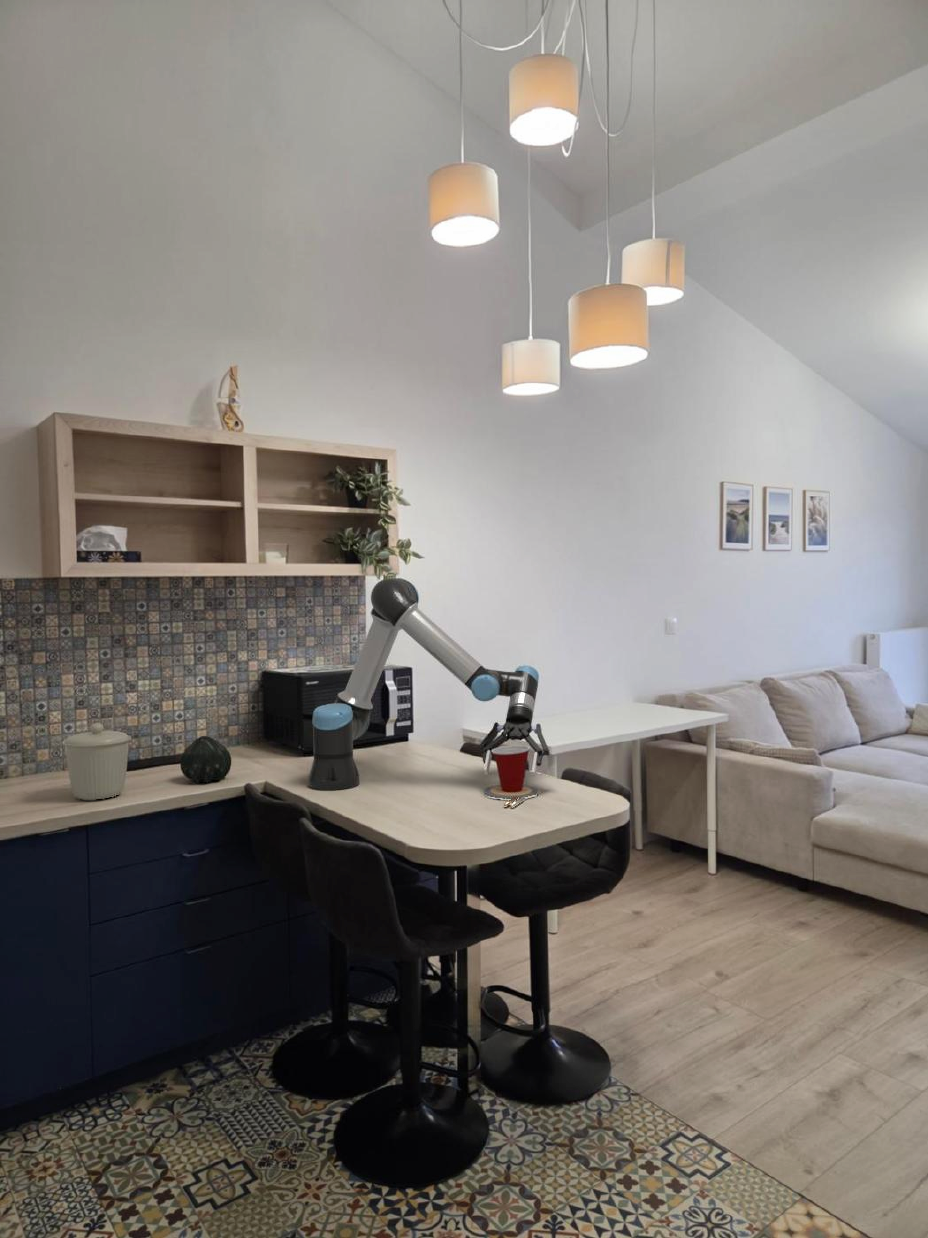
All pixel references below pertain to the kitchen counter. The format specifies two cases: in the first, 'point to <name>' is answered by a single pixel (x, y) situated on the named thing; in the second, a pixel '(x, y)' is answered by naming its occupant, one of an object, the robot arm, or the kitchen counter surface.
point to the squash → (205, 760)
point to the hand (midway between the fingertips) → (509, 773)
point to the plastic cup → (511, 766)
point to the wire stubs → (513, 801)
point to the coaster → (498, 793)
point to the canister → (97, 762)
